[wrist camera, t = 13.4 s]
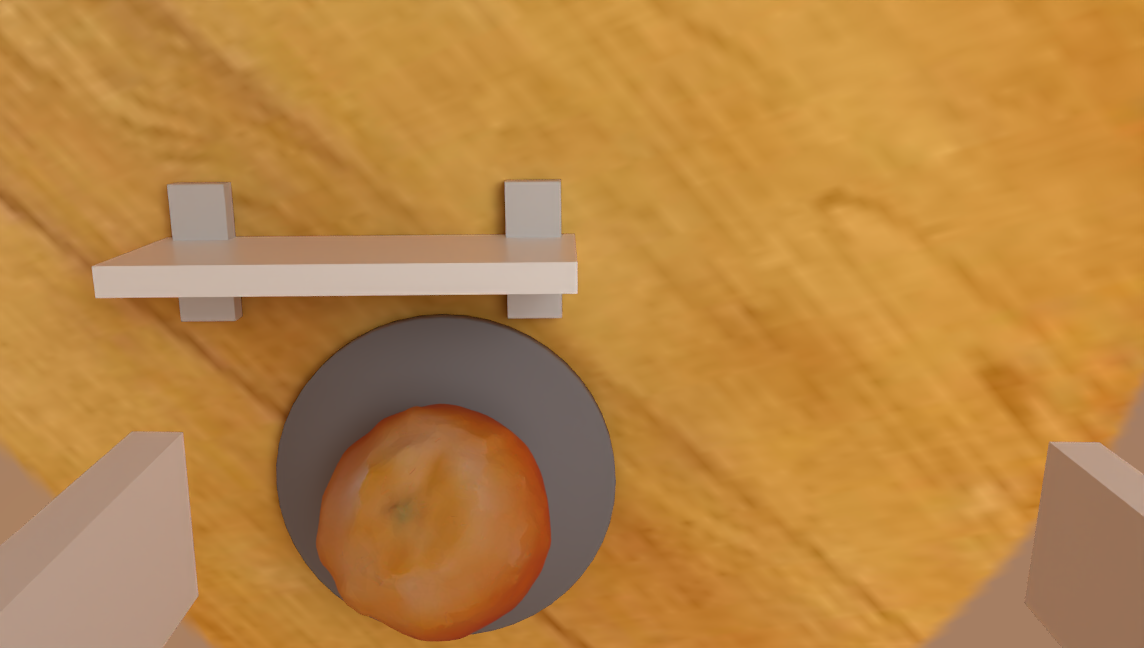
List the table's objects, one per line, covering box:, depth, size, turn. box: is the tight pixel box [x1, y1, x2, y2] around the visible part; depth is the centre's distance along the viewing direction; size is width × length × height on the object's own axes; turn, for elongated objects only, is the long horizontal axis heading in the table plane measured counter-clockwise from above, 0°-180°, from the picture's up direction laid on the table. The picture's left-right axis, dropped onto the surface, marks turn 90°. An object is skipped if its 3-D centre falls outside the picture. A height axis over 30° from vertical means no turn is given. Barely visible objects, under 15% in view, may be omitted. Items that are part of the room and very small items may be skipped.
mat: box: [276, 314, 616, 634], centre depth 38 cm, size 13×13×1 cm
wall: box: [92, 179, 578, 321], centre depth 33 cm, size 5×15×6 cm, turn 90°
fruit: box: [316, 404, 551, 641], centre depth 35 cm, size 8×8×8 cm
